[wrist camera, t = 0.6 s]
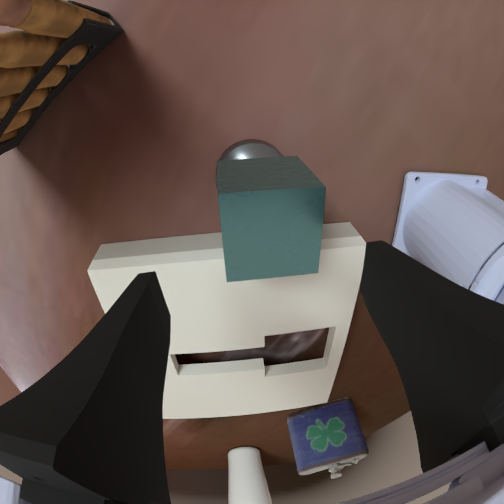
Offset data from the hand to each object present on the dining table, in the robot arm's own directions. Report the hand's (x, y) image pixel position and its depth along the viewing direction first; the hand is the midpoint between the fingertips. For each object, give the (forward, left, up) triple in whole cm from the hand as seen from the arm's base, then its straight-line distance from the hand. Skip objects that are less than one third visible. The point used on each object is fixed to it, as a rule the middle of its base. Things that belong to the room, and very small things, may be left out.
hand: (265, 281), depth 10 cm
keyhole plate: (+1, +14, -10) cm, 17 cm away
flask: (-9, +32, -11) cm, 35 cm away
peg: (-1, 0, -10) cm, 10 cm away
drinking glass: (+2, +45, -11) cm, 46 cm away
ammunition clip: (+11, -8, -11) cm, 18 cm away
